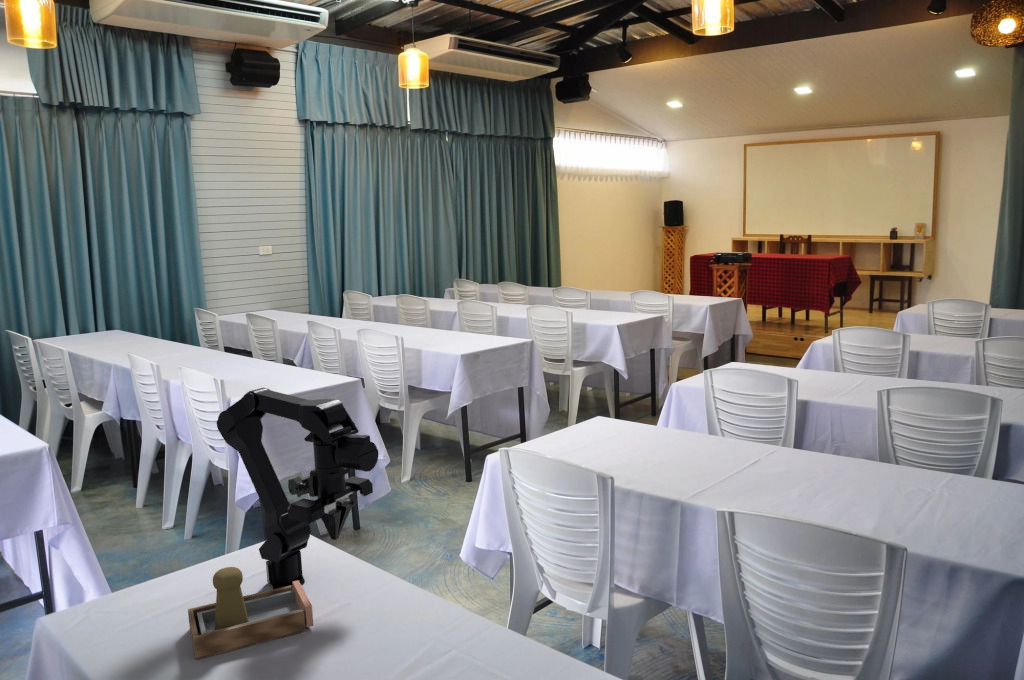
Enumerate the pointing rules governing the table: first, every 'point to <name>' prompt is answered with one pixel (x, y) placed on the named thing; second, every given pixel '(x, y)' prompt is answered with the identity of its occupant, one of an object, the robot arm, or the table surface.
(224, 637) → the brown wooden box
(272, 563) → the robot arm
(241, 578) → the olive pawn figure
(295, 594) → the tray
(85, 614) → the table surface
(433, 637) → the table surface
